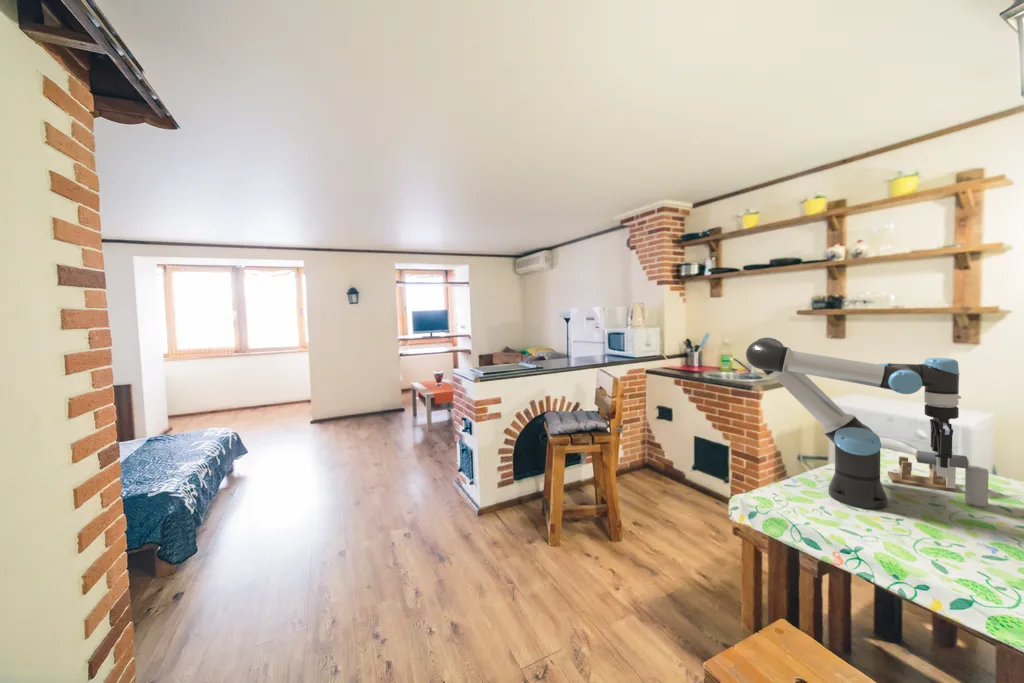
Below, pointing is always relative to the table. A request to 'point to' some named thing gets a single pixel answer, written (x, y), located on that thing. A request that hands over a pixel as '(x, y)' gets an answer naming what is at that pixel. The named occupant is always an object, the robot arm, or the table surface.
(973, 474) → the beverage can
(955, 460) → the grey capped cylinder
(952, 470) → the white bar frame
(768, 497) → the table surface
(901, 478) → the cradle board
